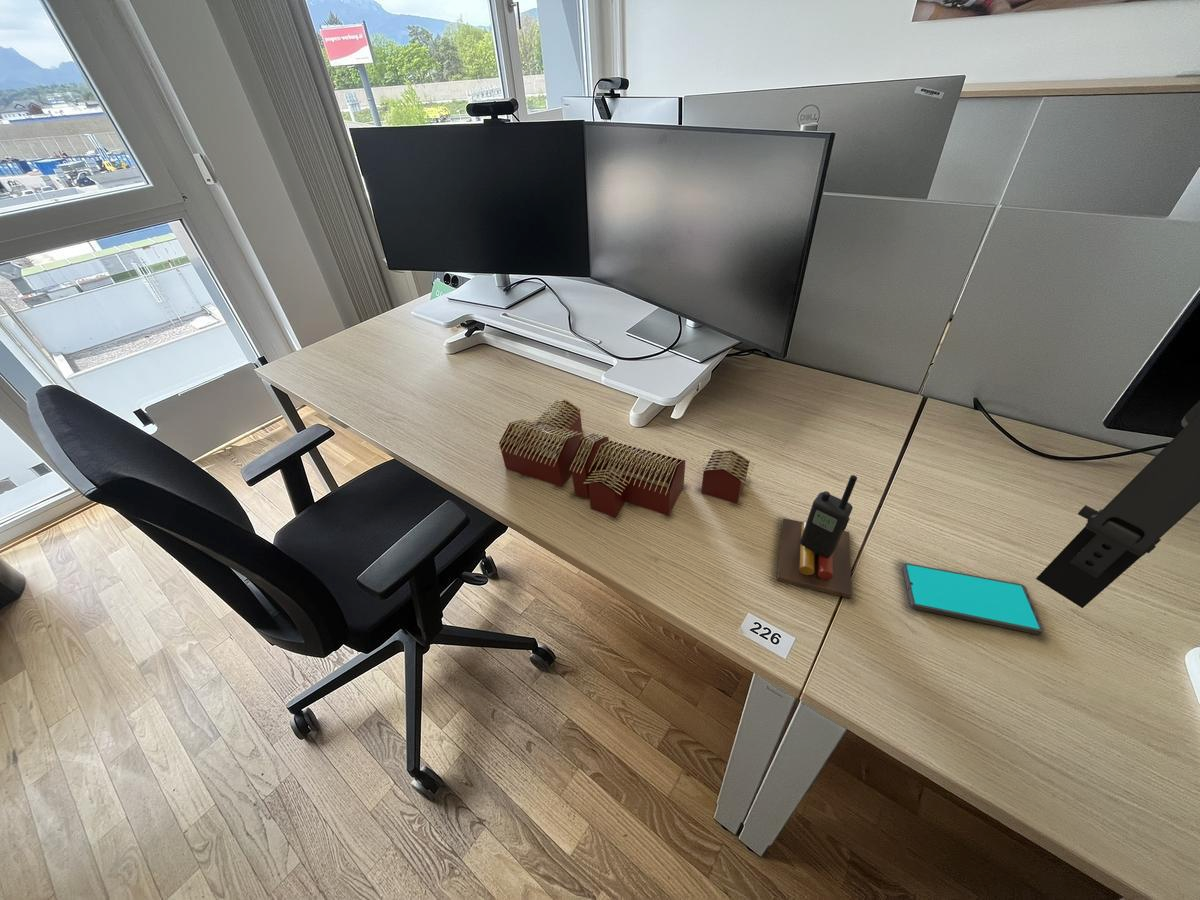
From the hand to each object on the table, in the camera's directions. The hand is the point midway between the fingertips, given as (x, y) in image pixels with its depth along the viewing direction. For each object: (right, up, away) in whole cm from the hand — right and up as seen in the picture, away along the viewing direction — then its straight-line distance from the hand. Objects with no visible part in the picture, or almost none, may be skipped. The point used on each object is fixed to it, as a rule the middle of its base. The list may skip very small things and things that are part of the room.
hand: (1107, 547), depth 34 cm
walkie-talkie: (-4, -7, +36) cm, 37 cm away
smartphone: (+14, -14, +31) cm, 37 cm away
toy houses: (-33, +2, +55) cm, 64 cm away
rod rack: (-4, -9, +38) cm, 39 cm away
